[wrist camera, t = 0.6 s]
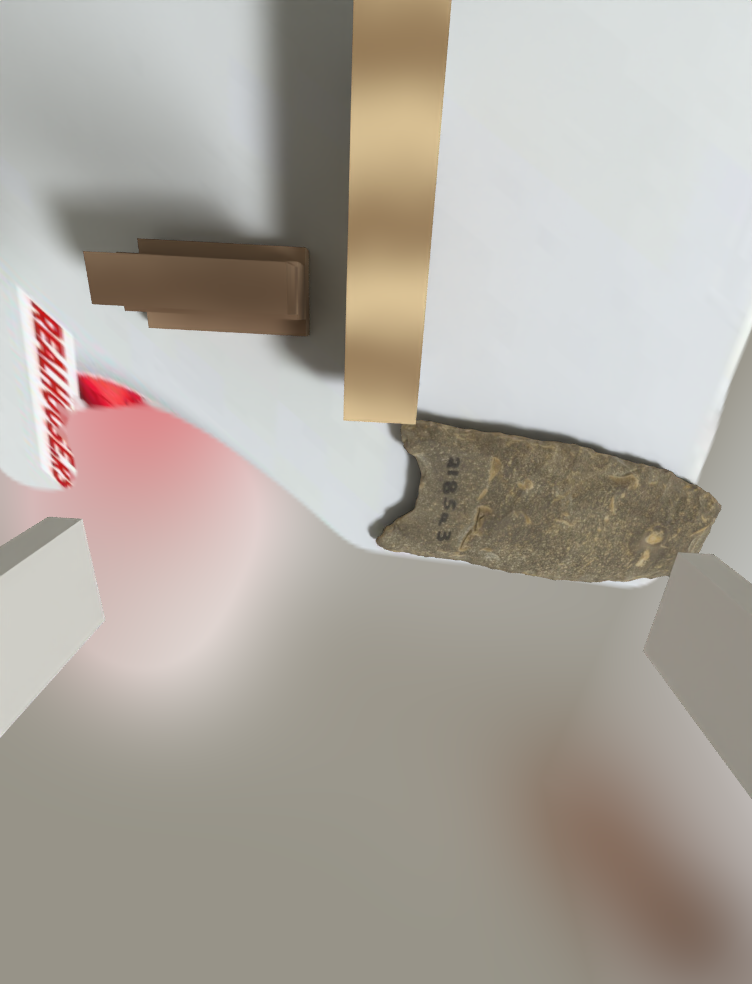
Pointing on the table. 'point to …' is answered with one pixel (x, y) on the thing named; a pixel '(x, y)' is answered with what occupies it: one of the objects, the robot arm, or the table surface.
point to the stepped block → (207, 285)
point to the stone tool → (545, 507)
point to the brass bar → (391, 200)
